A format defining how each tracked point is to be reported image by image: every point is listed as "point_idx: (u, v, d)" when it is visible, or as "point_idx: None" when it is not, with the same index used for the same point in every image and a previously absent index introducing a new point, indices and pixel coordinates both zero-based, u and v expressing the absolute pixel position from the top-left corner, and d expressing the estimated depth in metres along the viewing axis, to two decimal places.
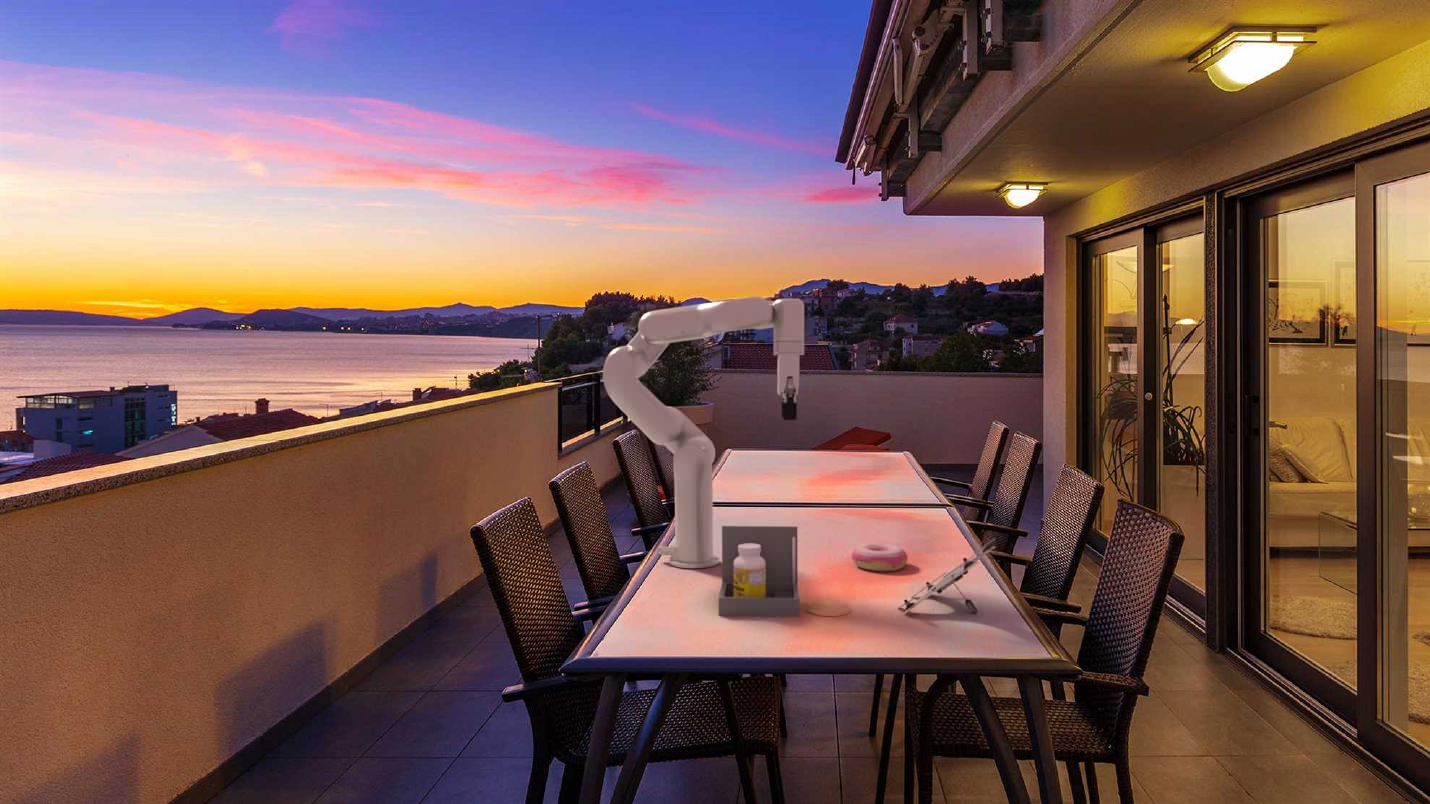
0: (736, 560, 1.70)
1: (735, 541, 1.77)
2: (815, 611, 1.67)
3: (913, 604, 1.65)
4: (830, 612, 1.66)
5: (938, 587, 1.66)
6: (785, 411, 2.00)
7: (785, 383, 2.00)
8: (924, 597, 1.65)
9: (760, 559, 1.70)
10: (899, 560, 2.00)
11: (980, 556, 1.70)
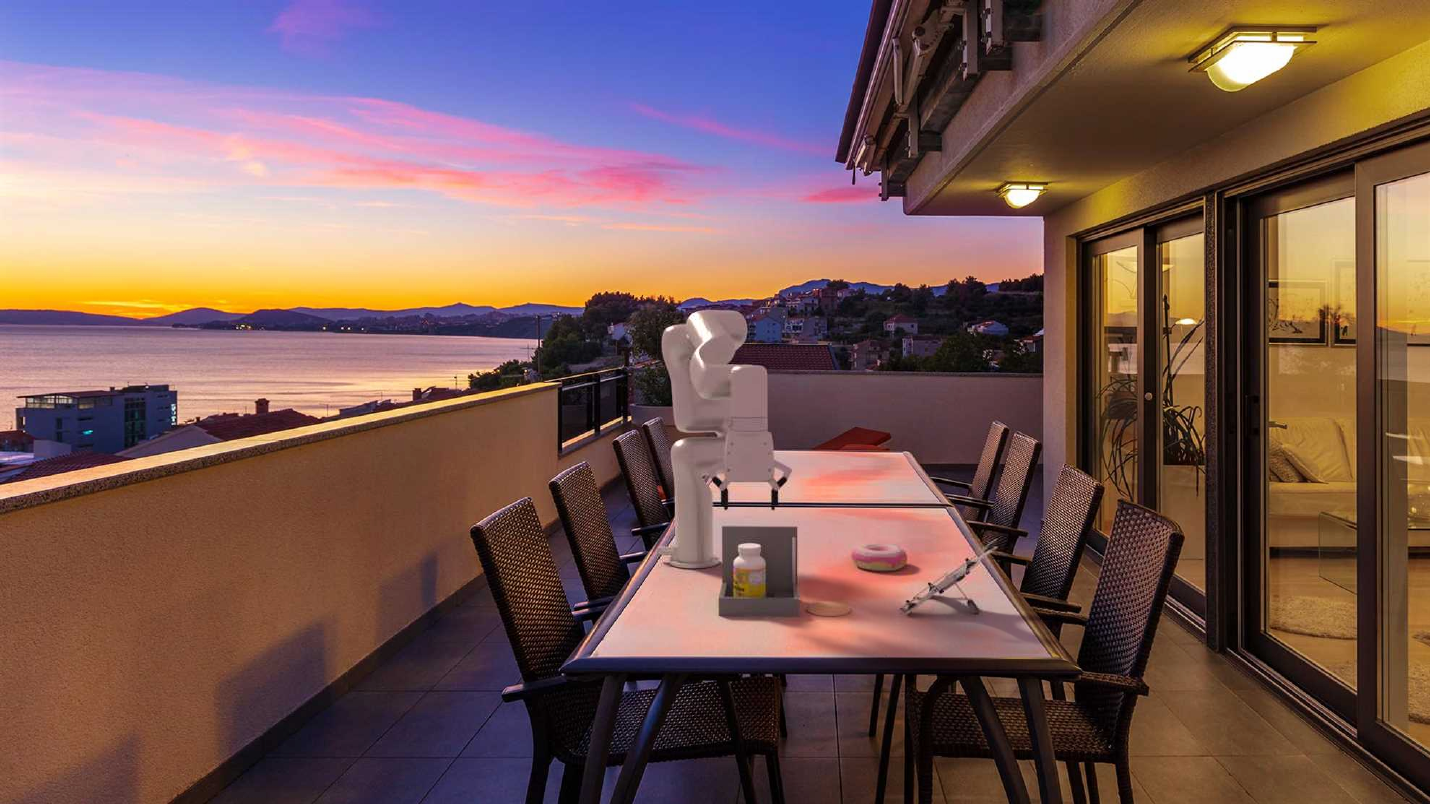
0: (736, 560, 1.70)
1: (735, 541, 1.77)
2: (815, 611, 1.67)
3: (915, 604, 1.65)
4: (830, 612, 1.66)
5: (940, 587, 1.66)
6: (774, 500, 1.69)
7: None
8: (926, 597, 1.65)
9: (760, 559, 1.70)
10: (899, 560, 2.00)
11: (982, 556, 1.70)
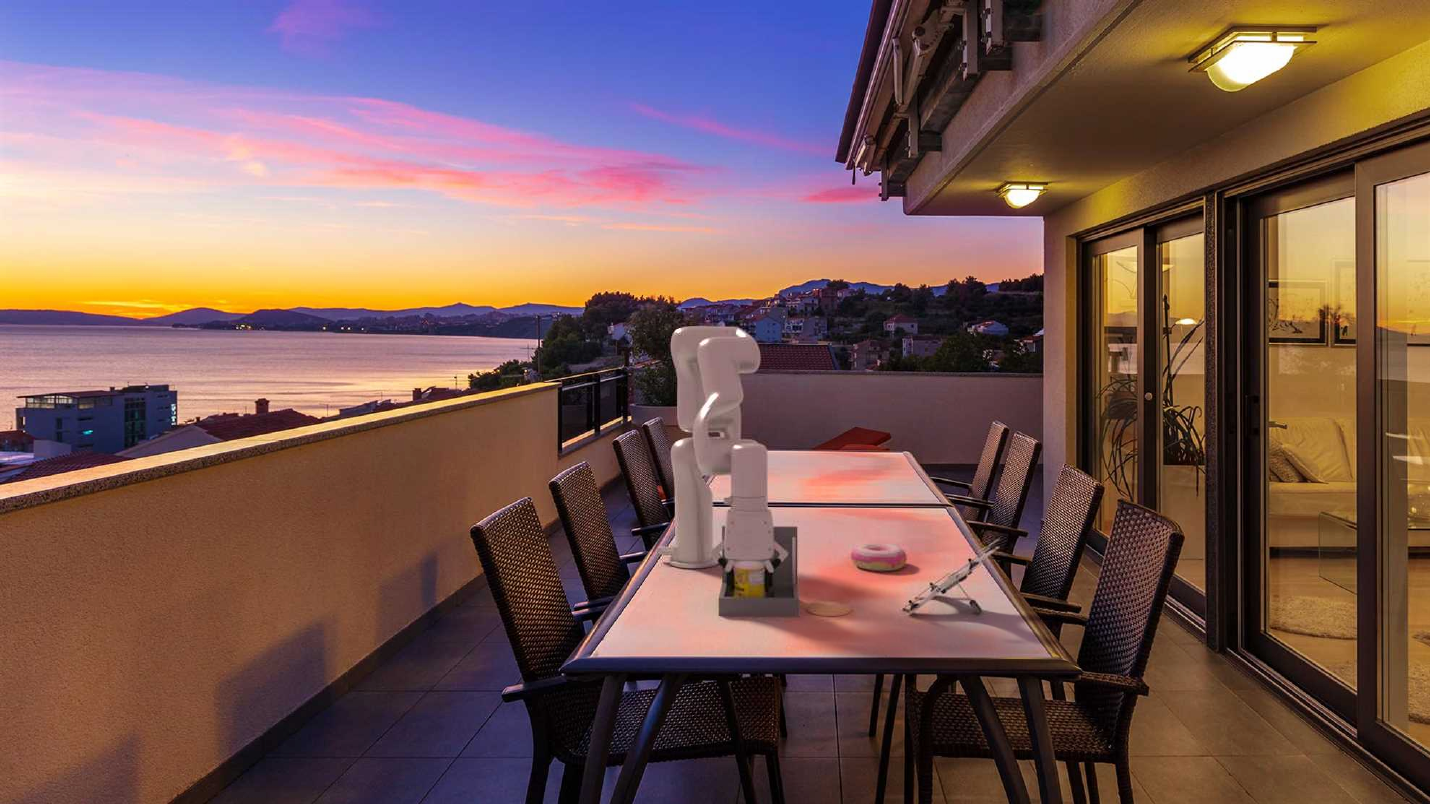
0: None
1: None
2: (815, 611, 1.67)
3: (918, 605, 1.64)
4: (830, 612, 1.66)
5: (942, 588, 1.66)
6: (768, 581, 1.70)
7: (774, 545, 1.69)
8: (929, 598, 1.65)
9: None
10: (898, 560, 2.00)
11: (984, 556, 1.70)
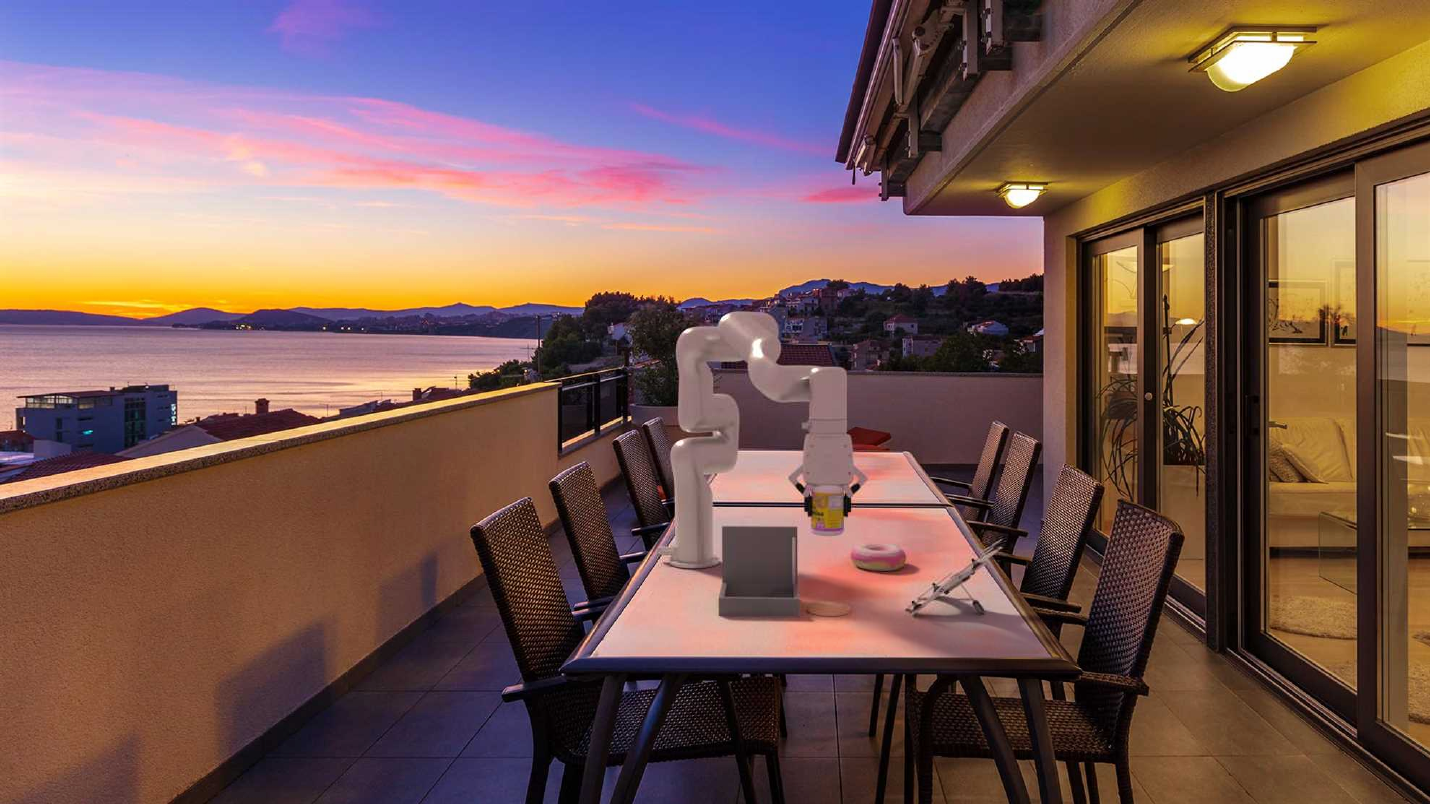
0: (814, 485, 1.67)
1: (735, 541, 1.77)
2: (815, 611, 1.67)
3: (921, 605, 1.64)
4: (830, 612, 1.66)
5: (945, 588, 1.65)
6: (847, 506, 1.67)
7: (853, 469, 1.67)
8: (932, 598, 1.65)
9: None
10: (898, 560, 2.00)
11: (987, 557, 1.70)
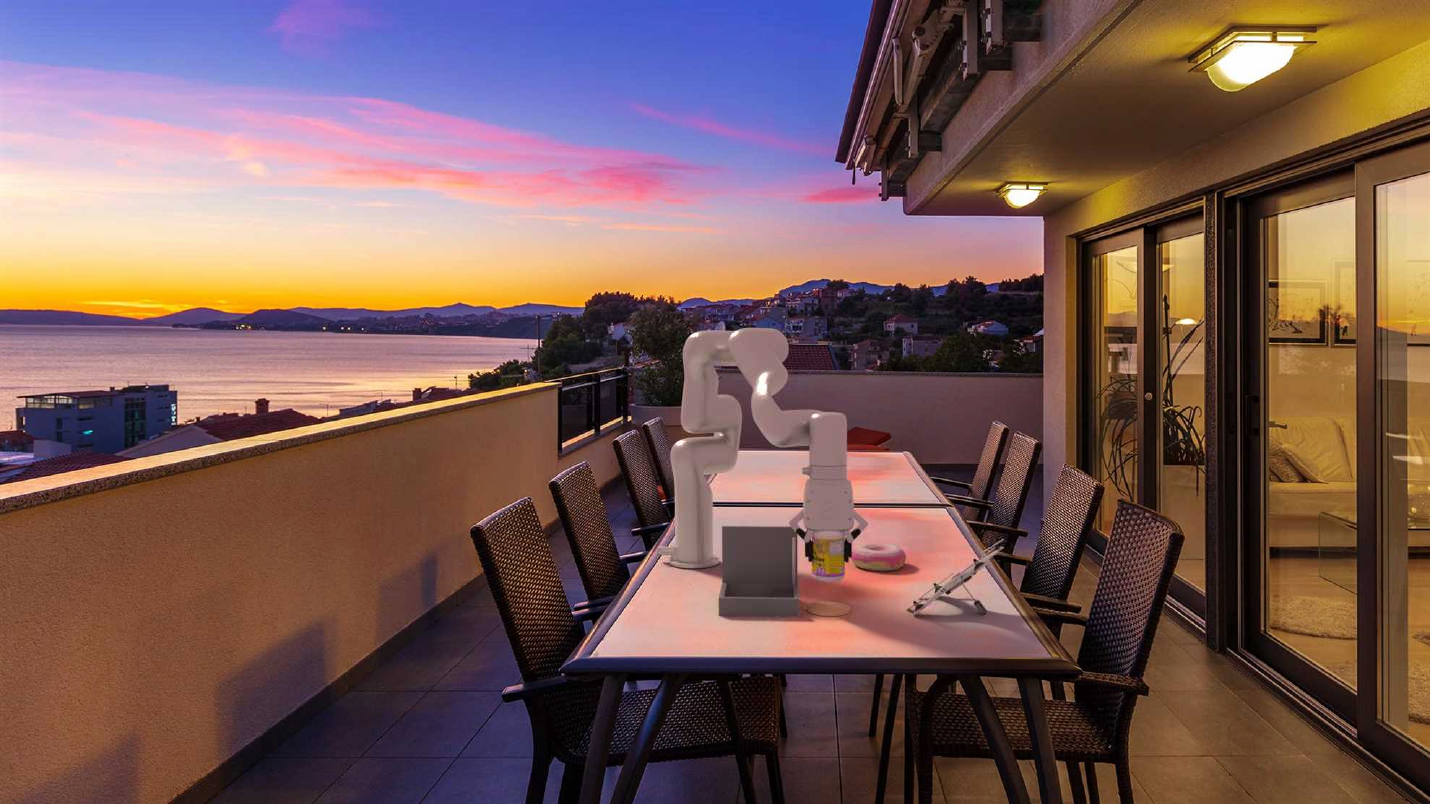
0: None
1: (735, 541, 1.77)
2: (815, 611, 1.67)
3: (922, 605, 1.64)
4: (830, 612, 1.66)
5: (947, 588, 1.65)
6: (848, 552, 1.67)
7: (854, 515, 1.67)
8: (933, 598, 1.65)
9: None
10: (897, 560, 2.00)
11: (988, 557, 1.70)
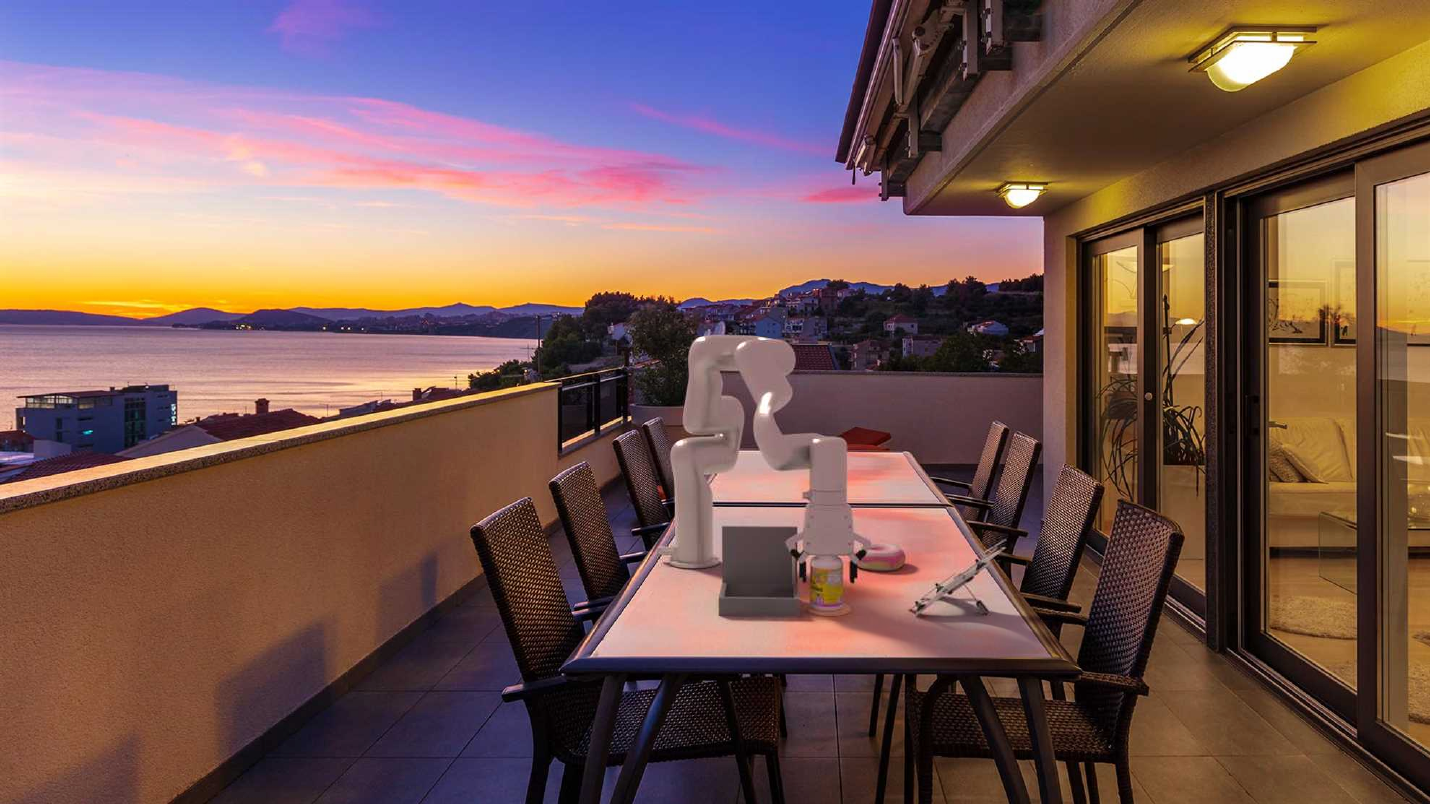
0: (813, 560, 1.68)
1: (735, 541, 1.77)
2: (815, 611, 1.67)
3: (924, 606, 1.64)
4: (830, 612, 1.66)
5: (949, 588, 1.65)
6: (854, 573, 1.68)
7: (853, 540, 1.67)
8: (935, 598, 1.64)
9: (838, 559, 1.68)
10: (897, 560, 2.00)
11: (990, 557, 1.69)
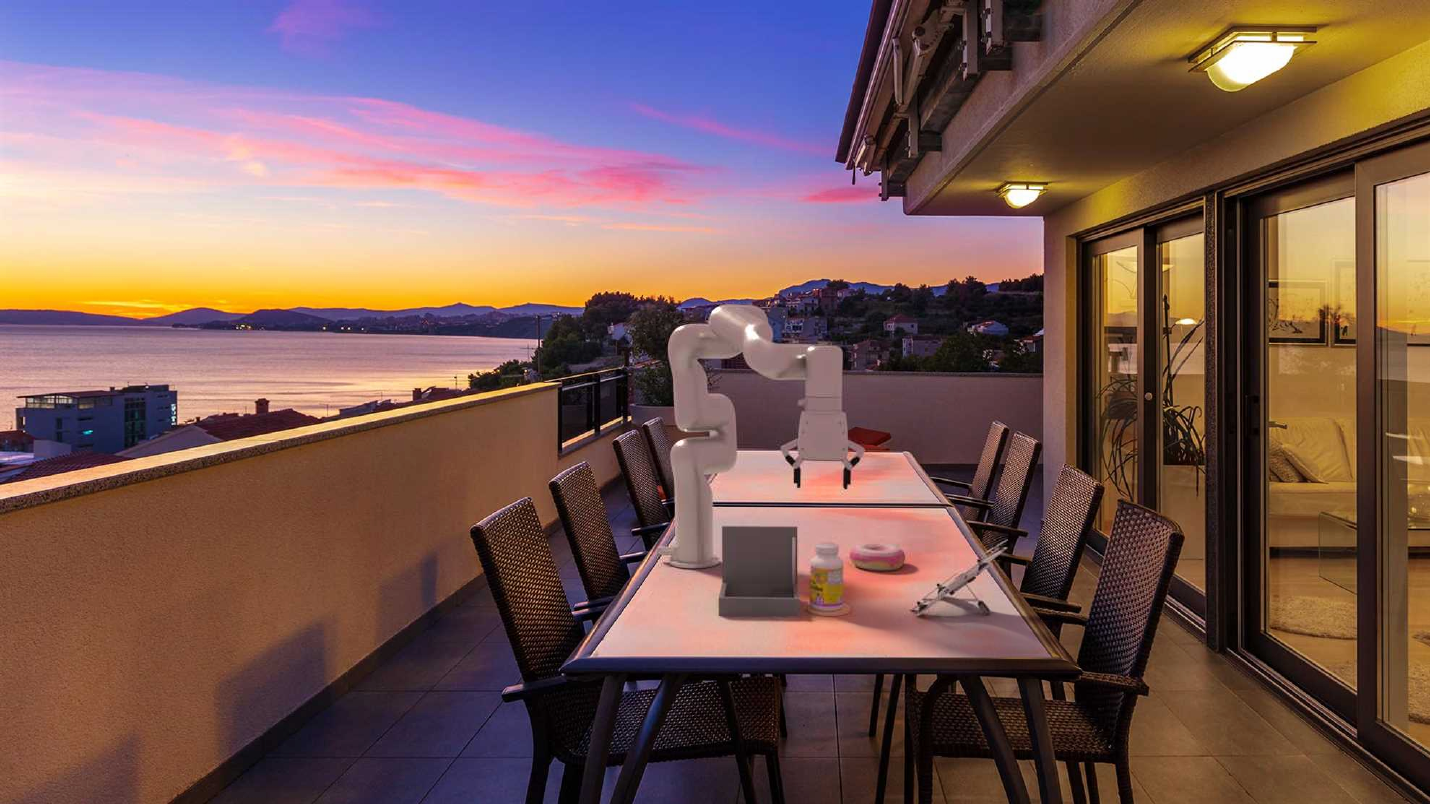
0: (814, 560, 1.68)
1: (735, 541, 1.77)
2: (815, 611, 1.67)
3: (926, 606, 1.64)
4: (830, 612, 1.66)
5: (951, 589, 1.65)
6: (847, 479, 1.71)
7: (847, 446, 1.71)
8: (937, 599, 1.64)
9: (838, 559, 1.68)
10: (897, 559, 2.00)
11: (992, 557, 1.69)
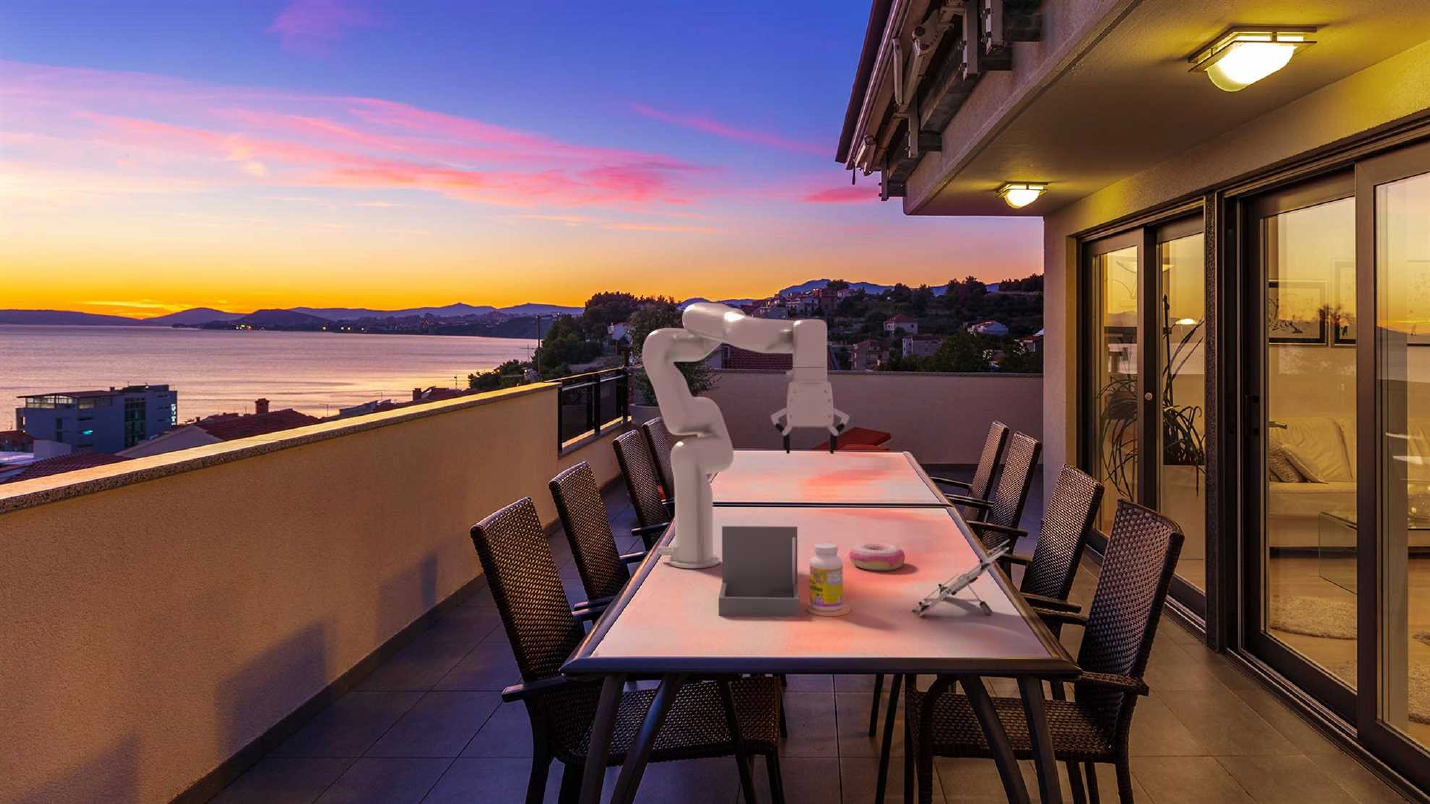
0: (813, 560, 1.68)
1: (735, 541, 1.77)
2: (815, 611, 1.67)
3: (928, 606, 1.63)
4: (830, 612, 1.66)
5: (953, 589, 1.65)
6: (833, 444, 1.83)
7: (833, 413, 1.82)
8: (939, 599, 1.64)
9: (837, 559, 1.68)
10: (896, 559, 2.00)
11: (994, 557, 1.69)
